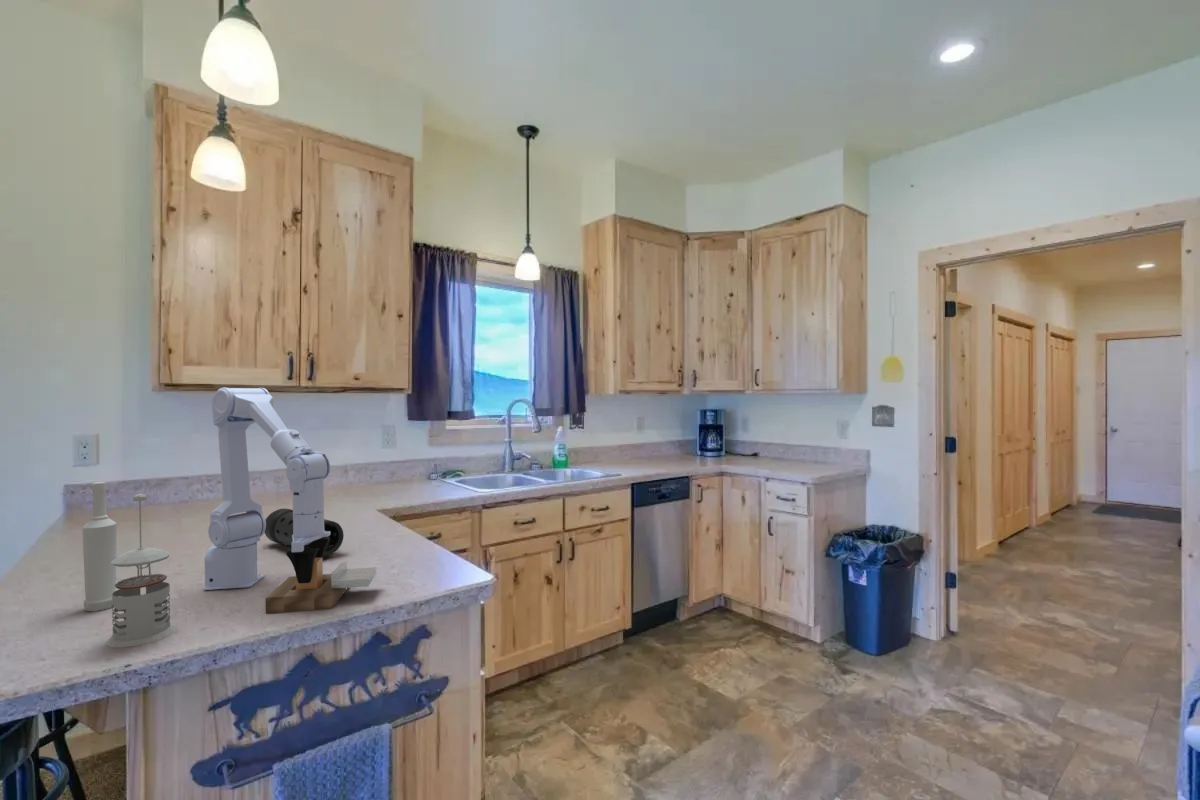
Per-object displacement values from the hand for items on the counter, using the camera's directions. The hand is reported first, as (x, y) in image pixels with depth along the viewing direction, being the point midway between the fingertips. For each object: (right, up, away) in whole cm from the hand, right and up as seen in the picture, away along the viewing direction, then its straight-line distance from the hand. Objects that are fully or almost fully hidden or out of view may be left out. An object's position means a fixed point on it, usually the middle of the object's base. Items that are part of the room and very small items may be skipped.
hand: (309, 577), depth 116 cm
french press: (-21, -5, -16) cm, 27 cm away
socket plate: (0, -4, 0) cm, 4 cm away
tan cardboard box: (0, -4, 0) cm, 4 cm away
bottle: (-40, -5, -4) cm, 40 cm away
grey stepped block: (+9, -1, +2) cm, 9 cm away
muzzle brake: (-21, -5, +37) cm, 43 cm away
